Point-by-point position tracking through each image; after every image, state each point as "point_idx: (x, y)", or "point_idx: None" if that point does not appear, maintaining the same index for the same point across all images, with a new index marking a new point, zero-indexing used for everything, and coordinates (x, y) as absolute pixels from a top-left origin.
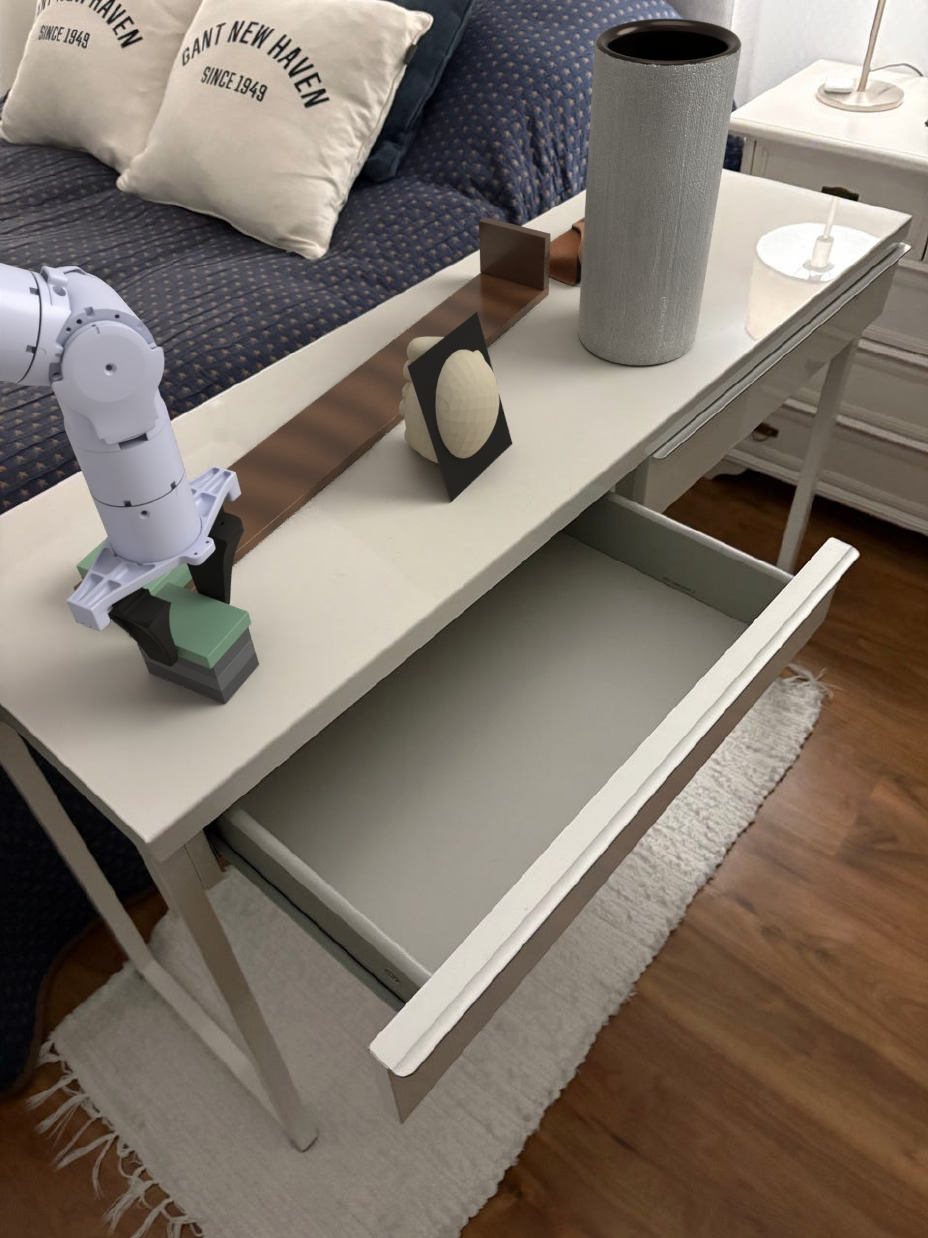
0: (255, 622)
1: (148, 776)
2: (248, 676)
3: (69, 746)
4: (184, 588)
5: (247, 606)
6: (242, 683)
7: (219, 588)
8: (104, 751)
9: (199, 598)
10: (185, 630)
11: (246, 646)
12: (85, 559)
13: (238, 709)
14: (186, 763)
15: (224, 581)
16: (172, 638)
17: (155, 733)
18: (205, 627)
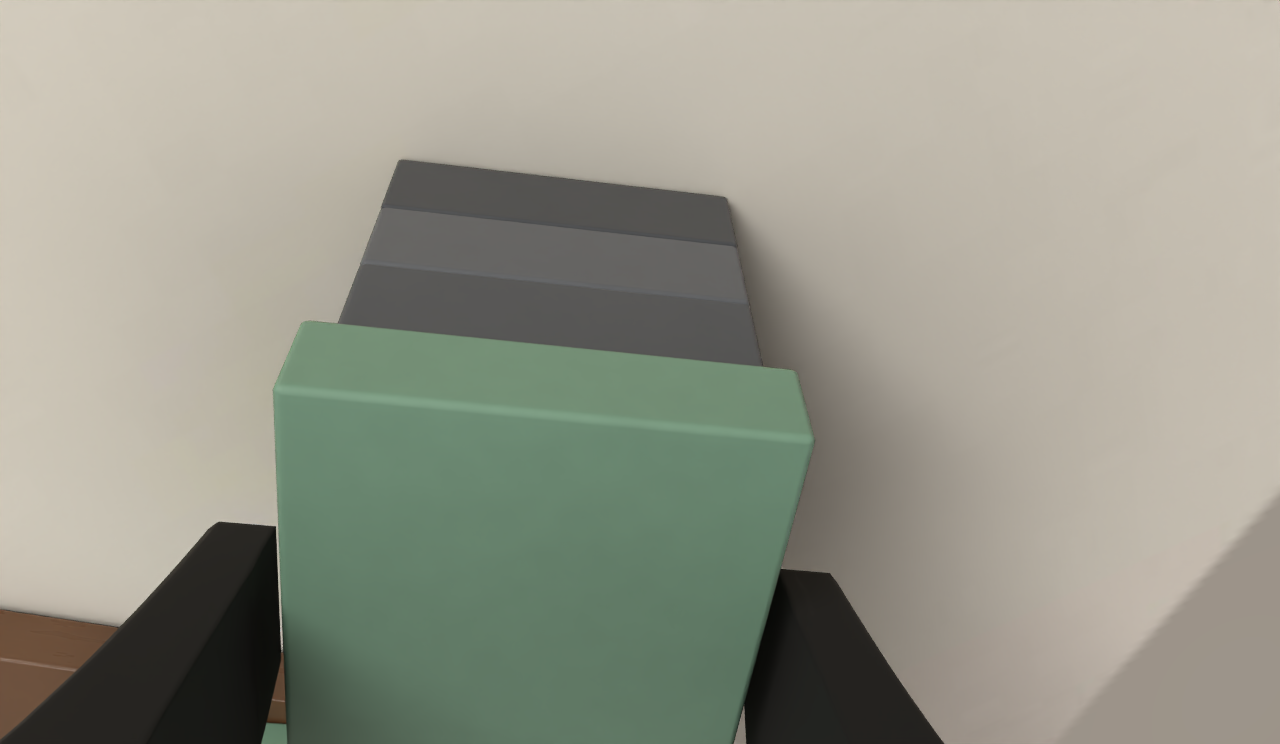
0: (137, 320)
1: (1223, 321)
2: (507, 172)
3: (1089, 658)
4: None
5: (63, 408)
6: (567, 179)
7: (214, 671)
8: (1100, 543)
9: (325, 707)
10: (621, 658)
11: (429, 264)
12: None
13: (737, 114)
14: (1134, 196)
15: (167, 697)
16: (850, 731)
17: (973, 412)
18: (547, 571)
